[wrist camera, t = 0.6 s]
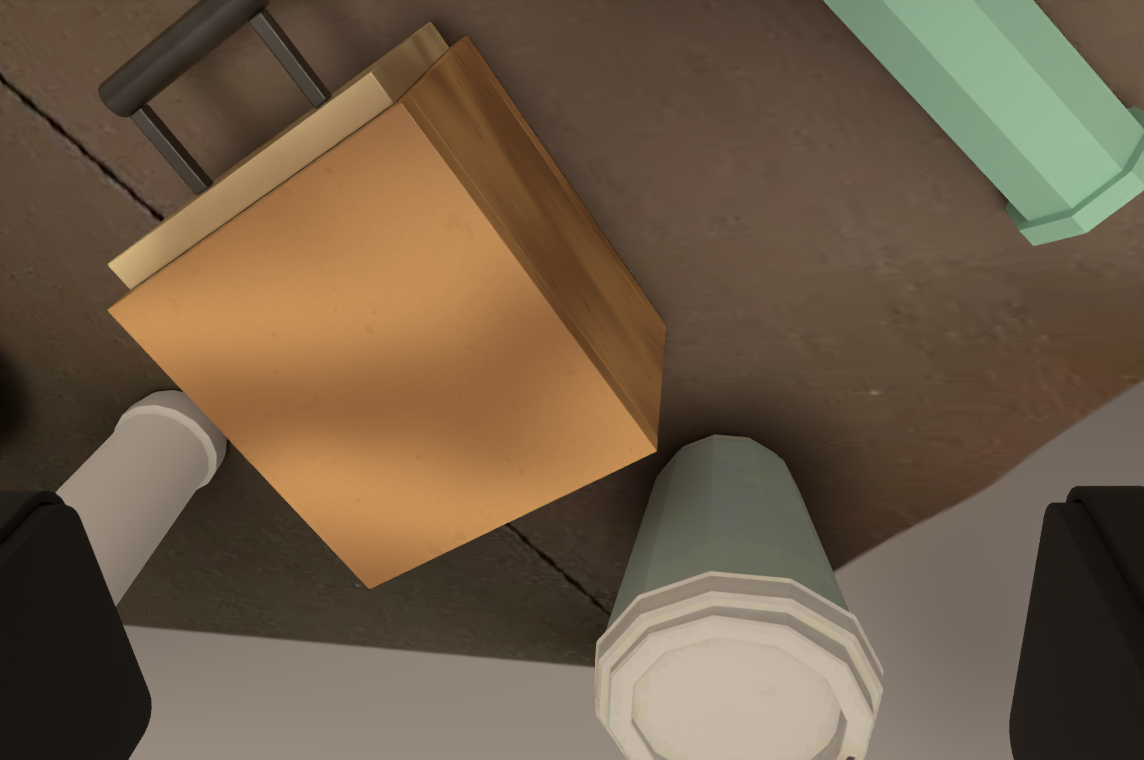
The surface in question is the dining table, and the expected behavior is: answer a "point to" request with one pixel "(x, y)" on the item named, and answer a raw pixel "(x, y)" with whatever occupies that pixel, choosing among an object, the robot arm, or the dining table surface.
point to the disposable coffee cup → (733, 623)
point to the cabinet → (415, 330)
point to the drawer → (276, 160)
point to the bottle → (143, 481)
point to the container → (1012, 105)
